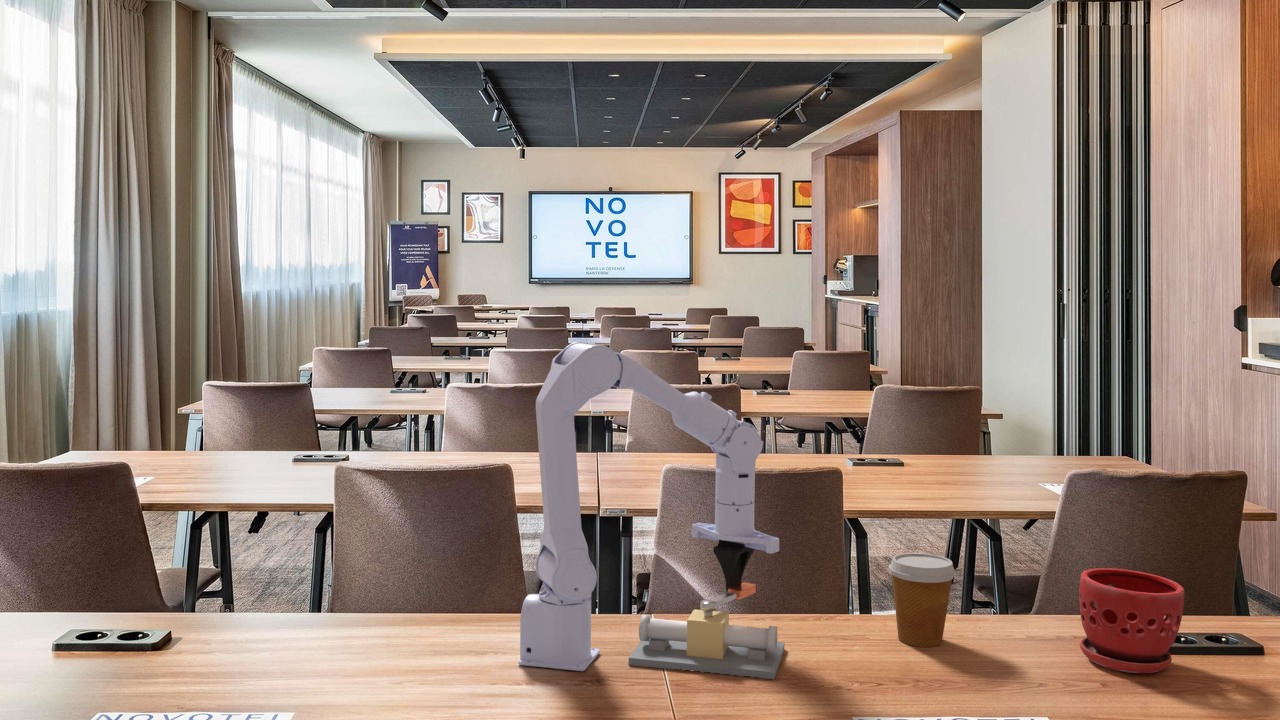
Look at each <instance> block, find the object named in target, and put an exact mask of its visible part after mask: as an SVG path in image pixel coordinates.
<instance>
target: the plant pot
mask: <svg viewBox="0 0 1280 720" xmlns="http://www.w3.org/2000/svg"><path fill="white" fill-rule="evenodd" d="M1079 579H1080V580H1079V586H1078V588H1079V591H1078V593H1079V594H1078V597H1079V600H1078V601H1079V609H1080V619H1081V620H1080V621H1081V624H1082V625H1081V626H1082V628H1083V630H1084V631H1083V632H1084V634H1085V635H1086V637H1084V638H1082V639H1081V640H1080V642H1079V647H1080V650H1081V652H1082V654H1083V655H1084V656H1085V657H1086V658H1087V659H1089V660H1090V661H1091V662H1093V664H1095V665H1099V666H1101V667H1104V668H1107V669H1110V670H1114V671H1116V672H1117V671H1118V672H1122V673H1127V674H1128V673H1129V674H1151V673H1158V672H1161V671H1163V670H1165V669H1167V668H1168V667H1169V666H1170V665H1171V663H1172V661H1173V657H1172V654H1171V653H1170V651H1169V650H1170V649H1171V647H1172V646H1173V645H1174V642H1175V641H1176V638H1177V636H1178V633H1179V630H1180V627H1181V624H1182V623H1181V622H1182V620H1183V619H1182V618H1183V613H1184V604H1185V593H1186V592H1185V589H1184V587H1183V586H1182V585H1180V584H1179V583H1178V582H1176V581H1174V580H1172V579H1169V578H1166V577H1164V576H1160V575H1155V574H1152V573H1148V572H1142V571H1138V570H1137V571H1136V570H1131V569H1124V568H1123V569H1121V568H1114V567H1113V568H1111V567H1110V568H1105V567H1104V568H1102V567H1101V568H1090V569H1086V570H1084V571H1082V572H1081V575H1080V577H1079ZM1108 585H1109V586H1108ZM1094 603H1095V604H1096V606H1095V605H1094Z"/></svg>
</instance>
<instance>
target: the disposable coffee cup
mask: <svg viewBox="0 0 1280 720" xmlns="http://www.w3.org/2000/svg"><path fill="white" fill-rule="evenodd" d="M888 569H889V571H890V574H891V578H892V580H891V581H892V589H893V599H894V606H895V607H894V608H895V610H894V611H895V619H896V628H897V636H898V637H897V638H898V640H899V641H900V642H902V643H903V644H906V645H910V646H914V647H918V648H919V647H920V648H931V647H932V648H933V647H936V646H941V644H943V638H944V632H945V625H946V619H947V614H948V607H949V600H950V594H951V588H952V587H951V586H952V581H953V579H954V576H955V575H956V569H955V568H954V564H953V561H952V560H951V559H950V558H948V557H944V556H942V555H941V556H940V555H938V554H937V555H936V554H933V553H932V554H931V553H923V552H921V553H920V552H904V553H897V554H896V555H893V556H892V559H891V562H890V564H889V565H888Z"/></svg>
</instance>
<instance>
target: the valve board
mask: <svg viewBox="0 0 1280 720" xmlns="http://www.w3.org/2000/svg"><path fill="white" fill-rule="evenodd" d="M729 617H730V613H729V611H718V610H715V611H710V612H708V611H702V610H701V609H693V610H692V612H691V614H690V615H689V616H688V617H687V620H685V621H684V620H673V619H662V618H653V617H652V616H651V615H650V614H642V615H641V617H640V620H639V625H638V637H639V641H640V642H639V643H638V645H637V646H636V647H635V648H634V650H633V651H632V653H631V654H630V656H628V666H635V667H644V668H646V667H648V668H653V669H654V668H655V669H656V668H657V669H665V670H674V669H678V670H677V671H680V670H679V669H682V670H681V671H684V670H683V669H685V670H693V671H692V672H694V671H702V672H701V673H704V672H711V673H710V674H714V673H720V674H719V675H724V674H730V675H729V676H734V675H737V676H738V677H744V676H752V677H751V678H754V677H759V678H758V679H764V680H765V679H767V680H774V681H775V679H776V676H777V673H778V669H779V667H780V664H781V661H782V657H783V654H784V652H785V642H781V641H778V636H779V634H778V626H774V625H769V626H768V627H767V628H766V627H765V628H763V627H752V626H742V625H733V624H732V625H730V624H729V623H730V622H729V620H730V619H729ZM737 676H736V677H737Z"/></svg>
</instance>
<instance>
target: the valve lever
mask: <svg viewBox="0 0 1280 720" xmlns="http://www.w3.org/2000/svg"><path fill="white" fill-rule="evenodd" d="M756 588H757V585H756V584H755V583H754V584H753V583H750V582H741V584H739V585H736V586H734V587H731V588H729V589H728V592H727V591H725V592H723V593H722V594H721V593H720V594H719V595H717V596H714V597H711V598H709V599H703V600H700V603H699V604H700V605H699V606H700V607H699V608H700V609H699V610H702V611H708V612H710V611H717V607H718V606H721V605H724V604H725V603H728V602H731V601H733V600H742V599H744V598H746V597H749V596H751V595H753V594H756V590H757V589H756Z"/></svg>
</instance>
